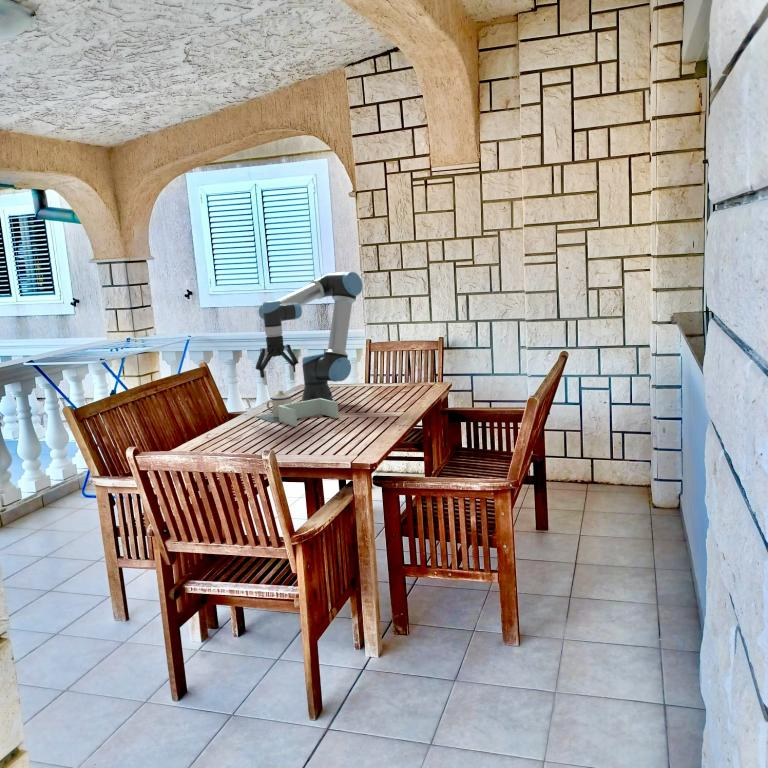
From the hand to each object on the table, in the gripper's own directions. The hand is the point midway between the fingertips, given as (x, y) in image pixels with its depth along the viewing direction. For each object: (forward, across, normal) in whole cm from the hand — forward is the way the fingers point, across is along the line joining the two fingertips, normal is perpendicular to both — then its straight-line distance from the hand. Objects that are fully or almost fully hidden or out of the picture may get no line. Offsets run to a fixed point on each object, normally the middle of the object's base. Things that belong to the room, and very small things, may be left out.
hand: (279, 382), depth 334 cm
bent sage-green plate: (+16, -5, +18) cm, 24 cm away
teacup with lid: (+16, +1, 0) cm, 16 cm away
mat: (+16, 0, 0) cm, 16 cm away
